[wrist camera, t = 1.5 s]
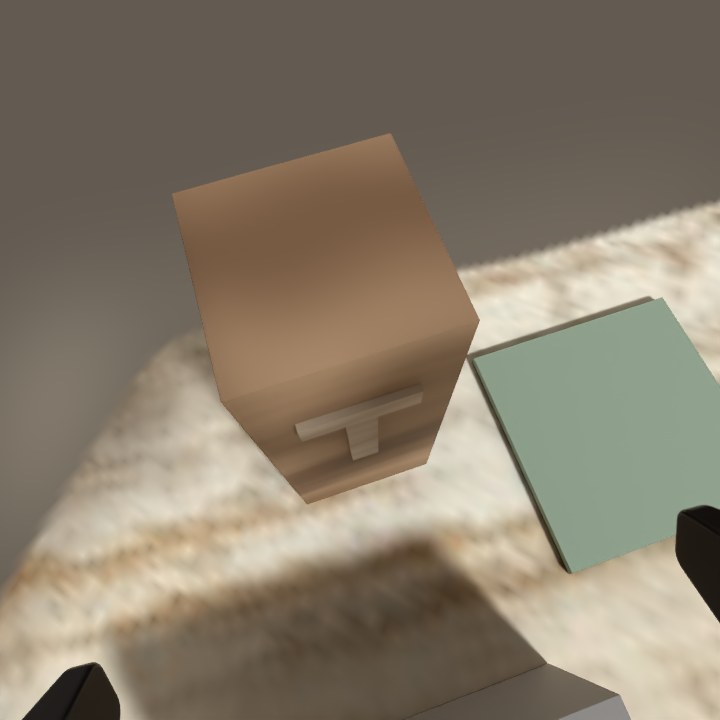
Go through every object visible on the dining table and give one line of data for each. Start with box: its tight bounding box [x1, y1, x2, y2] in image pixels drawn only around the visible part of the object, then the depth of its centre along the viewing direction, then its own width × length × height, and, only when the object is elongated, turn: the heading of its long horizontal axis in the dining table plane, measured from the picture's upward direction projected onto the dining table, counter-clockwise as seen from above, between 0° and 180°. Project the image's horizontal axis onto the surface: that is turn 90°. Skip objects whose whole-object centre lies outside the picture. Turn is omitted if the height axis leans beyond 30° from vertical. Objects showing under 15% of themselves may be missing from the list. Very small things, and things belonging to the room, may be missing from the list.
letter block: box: [172, 133, 480, 504], centre depth 16 cm, size 5×5×12 cm
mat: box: [473, 298, 720, 574], centre depth 22 cm, size 9×9×1 cm
